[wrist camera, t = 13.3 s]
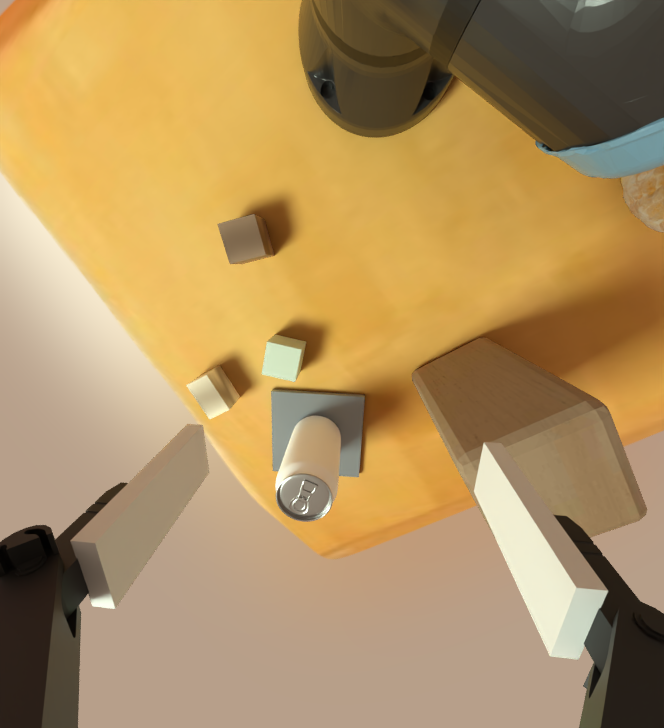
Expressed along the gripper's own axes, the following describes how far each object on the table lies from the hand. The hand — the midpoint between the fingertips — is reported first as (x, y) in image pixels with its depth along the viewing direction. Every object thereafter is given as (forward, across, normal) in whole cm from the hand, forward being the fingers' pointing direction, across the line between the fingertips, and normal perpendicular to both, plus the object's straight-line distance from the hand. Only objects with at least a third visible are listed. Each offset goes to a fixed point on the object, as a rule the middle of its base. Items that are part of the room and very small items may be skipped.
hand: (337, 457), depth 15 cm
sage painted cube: (+25, -8, -3) cm, 27 cm away
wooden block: (+26, +14, -7) cm, 30 cm away
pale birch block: (+25, -17, -8) cm, 31 cm away
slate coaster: (+25, -4, -14) cm, 29 cm away
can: (+24, -4, -14) cm, 28 cm away
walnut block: (+26, -12, +10) cm, 30 cm away
